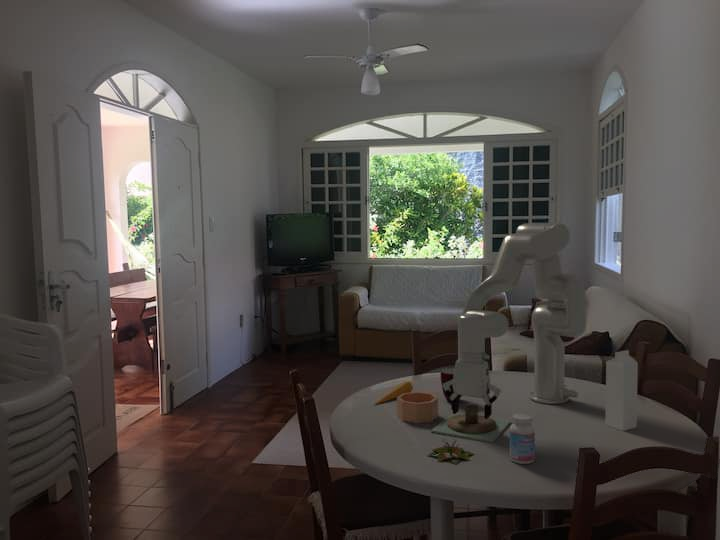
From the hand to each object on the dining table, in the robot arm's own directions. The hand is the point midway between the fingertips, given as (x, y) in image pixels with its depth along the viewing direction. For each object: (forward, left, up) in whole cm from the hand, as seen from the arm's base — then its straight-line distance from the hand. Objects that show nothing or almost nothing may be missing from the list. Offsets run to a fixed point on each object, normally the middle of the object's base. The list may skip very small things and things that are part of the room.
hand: (471, 415), depth 173 cm
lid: (0, 0, -3) cm, 3 cm away
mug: (+13, -22, -4) cm, 26 cm away
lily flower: (-2, +22, -4) cm, 22 cm away
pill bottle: (-19, +17, -4) cm, 26 cm away
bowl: (+18, -2, -4) cm, 19 cm away
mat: (0, 0, -4) cm, 4 cm away
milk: (-38, -20, -4) cm, 43 cm away
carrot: (+34, -16, -4) cm, 38 cm away
